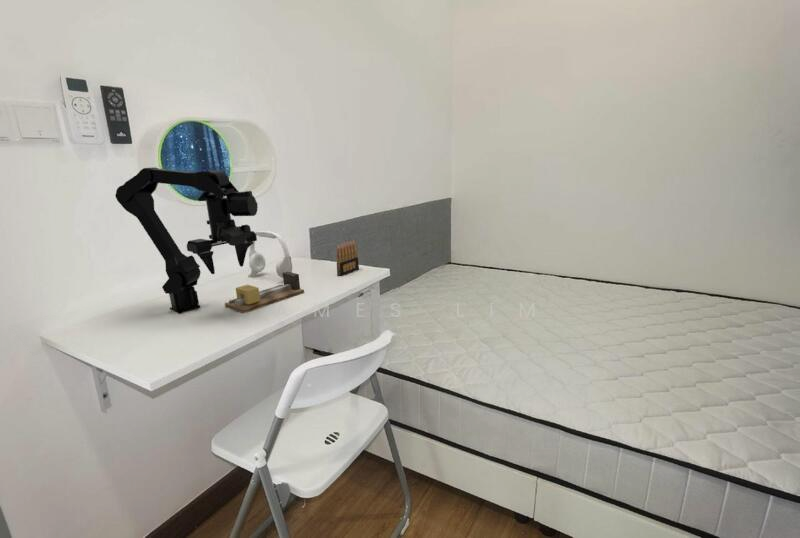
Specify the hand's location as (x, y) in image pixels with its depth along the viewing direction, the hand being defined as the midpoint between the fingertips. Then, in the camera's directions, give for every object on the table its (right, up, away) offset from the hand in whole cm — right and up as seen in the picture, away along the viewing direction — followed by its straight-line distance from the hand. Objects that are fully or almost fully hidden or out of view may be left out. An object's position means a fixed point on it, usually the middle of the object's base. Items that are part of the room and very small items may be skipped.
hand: (227, 270), depth 120 cm
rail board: (+8, -9, +11) cm, 16 cm away
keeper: (+4, -9, +6) cm, 12 cm away
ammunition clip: (+30, -1, +38) cm, 48 cm away
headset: (+2, -3, +34) cm, 34 cm away
